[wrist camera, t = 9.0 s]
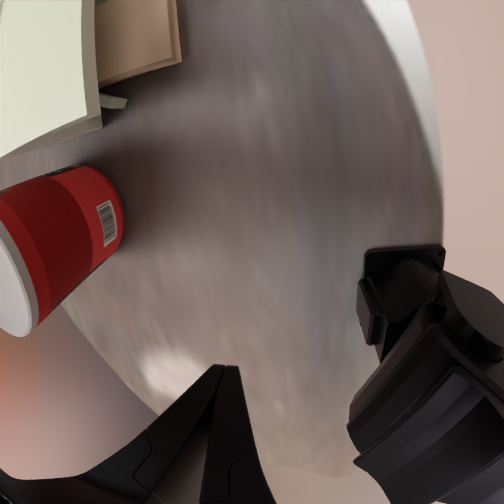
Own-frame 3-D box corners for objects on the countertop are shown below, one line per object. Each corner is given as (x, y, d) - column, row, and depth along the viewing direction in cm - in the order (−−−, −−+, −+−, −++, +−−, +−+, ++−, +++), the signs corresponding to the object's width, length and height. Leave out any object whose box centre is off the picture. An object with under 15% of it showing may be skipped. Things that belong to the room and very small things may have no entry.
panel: (176, -11, 13) (165, -23, 11) (184, 63, 16) (172, 57, 14) (66, 36, 15) (49, 32, 13) (69, 103, 17) (51, 104, 15)
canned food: (81, 142, 18) (-37, 176, 8) (147, 216, 20) (48, 298, 10) (43, 208, 21) (-49, 263, 11) (99, 273, 23) (20, 355, 13)
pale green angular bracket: (138, -34, 12) (89, -71, 5) (150, 113, 17) (87, 114, 11) (51, 11, 13) (-5, -1, 7) (58, 144, 18) (-7, 162, 12)
